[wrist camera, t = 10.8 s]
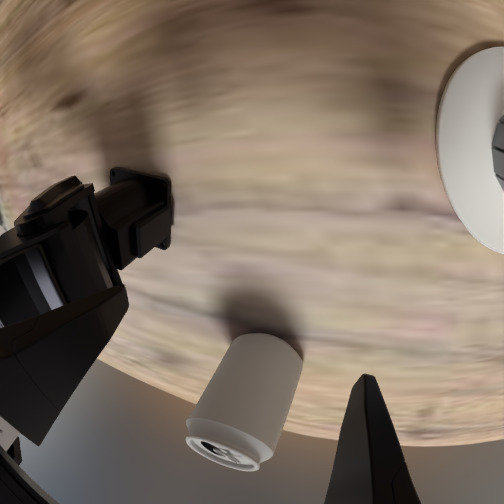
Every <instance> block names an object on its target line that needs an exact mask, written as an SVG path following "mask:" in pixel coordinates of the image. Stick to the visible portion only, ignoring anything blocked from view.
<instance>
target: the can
mask: <svg viewBox="0 0 504 504" xmlns="http://www.w3.org/2000/svg"><path fill="white" fill-rule="evenodd" d="M302 368H303V366H302V360H301V358H300V357H299V355H298V354H297V352H296V351H295V350H294V349H293V348H292V347H291V346H290V345H289V344H288V343H287V342H285V341H284V340H282V339H280V338H278V337H276V336H273V335H269V334H264V333H254V334H253V333H250V334H245V335H240V336H239V337H237V338H235V339H234V340H233V342H232V343H231V345H230V347H229V349H228V350H227V352H226V354H225V356H224V357H223V359H222V361H221V363H220V364H219V366H218V368H217V370H216V372H215V373H214V375H213V377H212V379H211V380H210V382H209V384H208V385H207V387H206V389H205V391H204V392H203V394H202V396H201V398H200V399H199V401H198V403H197V404H196V406H195V408H194V410H193V411H192V413H191V415H190V416H189V418H188V420H187V421H186V423H187V427H188V430H189V433H190V436H187V437H186V439H185V440H186V442H187V444H188V445H189V446H190V447H191V448H192V449H193V450H195V451H196V452H197V453H199V454H201V455H203V456H204V457H206V458H208V459H210V460H212V461H214V462H216V463H219V464H221V465H224V466H227V467H230V468H234V469H238V470H243V471H255V470H258V469H259V467H260V466H259V463H261V462H263V461H265V460H267V459H270V458H271V457H272V455H273V453H274V451H275V448H276V445H277V443H278V440H279V437H280V435H281V432H282V429H283V426H284V423H285V421H286V418H287V415H288V412H289V409H290V406H291V403H292V400H293V397H294V394H295V391H296V388H297V384H298V381H299V378H300V375H301V371H302Z"/></svg>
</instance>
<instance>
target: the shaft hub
mask: <svg viewBox="0 0 504 504" xmlns="http://www.w3.org/2000/svg"><path fill="white" fill-rule="evenodd" d="M503 115H504V47H493V48H489V49H485V50H482V51H479V52H477V53H475V54H473V55H471V56H469V57H468V58H467V59H466V60H464V61H463V62H462V63H461V64H460V65H459V66H458V67H457V69H456V70H455V71H454V72H453V74H452V76H451V77H450V79H449V80H448V82H447V85H446V87H445V89H444V91H443V94H442V98H441V101H440V104H439V109H438V115H437V121H436V153H437V162H438V167H439V172H440V176H441V180H442V183H443V186H444V189H445V192H446V194H447V197H448V199H449V201H450V204H451V205H452V207H453V209H454V211H455V213H456V214H457V216H458V217H459V218H460V220H461V221H462V223H463V224H464V225H465V227H466V228H467V230H468V231H469V232H470V233H471V234H472V235H473V236H474V237H475V238H476V239H477V240H478V241H479V242H480V243H482V244H483V245H484V246H486V247H488V248H489V249H491V250H493V251H496V252H498V253H501V254H504V192H503V190H502V188H501V186H500V184H499V182H498V180H497V178H496V176H495V175H496V173H495V172H494V167H493V158H492V149H491V148H495V146H493V145H492V141H493V137H494V134H495V130H496V126H497V122H498V123H500V121H499V119H500V118H501V117H502V116H503Z"/></svg>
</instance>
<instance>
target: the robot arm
mask: <svg viewBox="0 0 504 504" xmlns="http://www.w3.org/2000/svg"><path fill="white" fill-rule="evenodd" d="M163 183H164V184H165V187H164V186H163ZM110 185H111V186H109V187H107V188H105V189H103V190H101V191H99V192H97V193H95V194H94V191H95V190H94V186H93V183H91V184H82V182H80V180H79V179H78V178H77V177H76V176H71V177H69V178H66V179H64V180H62V181H60V182H58V183H56V184H54V185H52V186H50V187H49V188H47V189H46V190H45V191H43V192H42V193H41V194H39V195H38V196H37V197H35V198H34V199H33V200H32V201H31V203H30V205H29V207H28V208H27V209H26V210H25V211H24V212H23V213H22V214H21V215H20V216H19V217H18V218H17V219H16V220H15V222H14V226H15V227H14V228H12V229H10V230H9V231H7V232H5V233H3V234H2V235H1V236H0V504H59V503H58V502H57V501H55V500H54V499H53V498H52V497H51V496H50V495H48V494H47V493H46V492H45V491H44V490H43V489H42V488H41V487H40V486H39V485H37V484H36V483H35V482H34V481H33V480H32V479H31V478H30V477H29V476H28V475H27V474H26V473H25V472H24V471H23V470H22V469H21V468H20V467H19V465H20V463H21V462H22V457H21V450H20V441H19V437H18V435H19V434H20V433H21V434H22V435H24V436H25V437H26V438H28V439H29V440H30V441H32V442H33V443H34V444H36V445H37V446H39V445H40V444H41V443H42V441H43V439H44V438H45V436H46V434H47V433H48V431H49V430H50V428H51V426H52V424H53V423H54V421H55V420H56V418H57V417H58V415H59V413H60V412H61V410H62V409H63V407H64V406H65V404H66V403H67V401H68V399H69V398H70V397H71V395H72V394H73V392H74V390H75V389H76V388H77V386H78V385H79V383H80V381H81V380H82V379H83V377H84V376H85V374H86V373H87V371H88V370H89V368H90V367H91V366H92V364H93V363H94V361H95V360H96V359H97V357H98V356H99V354H100V353H101V351H102V350H103V349H104V347H105V346H106V345H107V343H108V342H109V340H110V339H111V337H112V336H113V334H114V332H115V330H116V329H117V327H118V325H119V324H120V322H121V320H122V318H123V317H124V315H125V313H126V312H127V310H128V307H129V302H128V296H127V291H126V288H125V286H124V284H123V283H122V281H121V278H120V275H119V273H118V270H117V269H119V270H123V269H124V268H125V267H126V266H127V265H129V264H130V263H131V262H132V261H133V260H135V259H136V258H137V257H138V258H142V257H143V256H144V255H145V254H147V253H148V252H149V251H150V250H151V249H153V248H154V247H157V248H160V249H162V250H166V249H167V248H169V246H170V233H171V208H170V187H171V185H170V181H169V180H168V179H166V178H163V177H159V176H155V175H150V174H146V173H142V172H137V171H133V170H128V169H124V168H119V167H114V168H112V169H111V170H110ZM163 243H164V244H165V245H164V244H163ZM404 461H405V459H404V455H403V453H402V449H401V446H400V443H399V440H398V437H397V435H396V432H395V429H394V426H393V423H392V420H391V418H390V415H389V412H388V409H387V407H386V404H385V401H384V399H383V396H382V394H381V391H380V388H379V386H378V383H377V381H376V378H375V377H374V376H373V375H369V374H362V376H361V377H360V378H359V379H358V381H357V382H356V383H355V384H354V386H353V388H352V390H351V394H350V398H349V402H348V405H347V409H346V413H345V416H344V419H343V423H342V426H341V431H340V436H339V441H338V446H337V452H336V456H335V461H334V465H333V470H332V474H331V479H330V483H329V487H328V491H327V495H326V498H325V502H324V504H421V502H420V500H419V497H418V495H417V492H416V490H415V487H414V485H413V482H412V479H411V477H410V474H409V471H408V468H407V465H406V462H404Z"/></svg>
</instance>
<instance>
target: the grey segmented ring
mask: <svg viewBox="0 0 504 504" xmlns="http://www.w3.org/2000/svg"><path fill="white" fill-rule="evenodd" d="M499 121H500V123H498V122H497V126H496V130H495V134H494V137H493V141H492V145H493V146H495V148H491V149H492V158H493V167H494V172H495V173H496V175H495V176H496V178H497V180H498V182H499V184H500V186H501V188H502V190H503V192H504V115H503V116H502V117H501V118H500V119H499Z"/></svg>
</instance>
